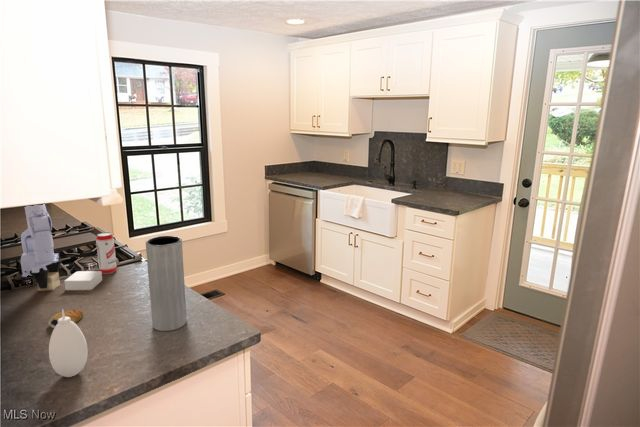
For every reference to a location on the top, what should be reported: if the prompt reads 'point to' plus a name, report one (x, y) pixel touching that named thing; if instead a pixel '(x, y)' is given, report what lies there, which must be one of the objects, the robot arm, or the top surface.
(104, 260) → the beer can
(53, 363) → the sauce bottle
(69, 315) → the pastry
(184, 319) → the vase
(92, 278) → the white block
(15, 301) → the top surface
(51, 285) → the maple cube
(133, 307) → the top surface
